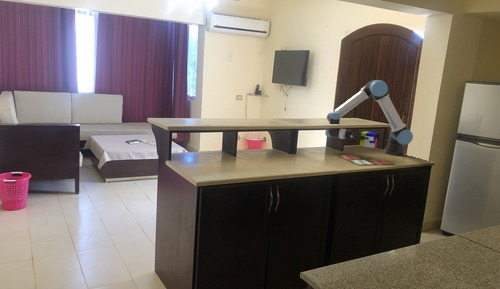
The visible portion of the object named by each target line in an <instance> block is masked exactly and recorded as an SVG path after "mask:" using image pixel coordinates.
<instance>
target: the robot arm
mask: <svg viewBox="0 0 500 289" xmlns="http://www.w3.org/2000/svg"><path fill="white" fill-rule="evenodd" d="M371 97H372V98H373V99H374V101H375V102H377V103H378V105H379V107H380V108H381V110H382V112H383V113H384V116H385V118H386V119H387V121H388V123H389V125H390V128H389V133H388V134H389V136H388V143H387V145H386V147H385V149H384V153H385V154H388V155H393V156H405V152H406V150H405V146H406V145H408V144H410V143H411V142H412V141H413V139H414V134H413V132H412V131H411V130H410V129H409V128H408V126H407V124H406V123H404V122H403V121H402V119H401V117H400V115H399V113H398V111H397V109H396V108H395V106H394V103H393V102H392V100H391V98H390V91H389V90H388V85H387V83H386V82H385V81H384V80H380V79H373V80H370V81H368V82H367V83H366V84H365V85H363V86H362V87H361V88H360V90H359V91H358V92H357V93H356V94H354V95H353V96H352V97H350V98H349V99H348V100H346V101H345V102H343V104H340V105H339V106H338V107H337V108H336V109H334V110H333V111H332V112H329V113H328V114H327V115H326V120H327V122H329V124H339V125H340V122H341V118H342V117H344V115H346V114H347V113H348V112H349V113H350V111H351V110H353V109H354V108H355V107H357V106H358V105H359V104H362V102H363V101H365V100H366V99H370V98H371ZM324 135H325V136H326V137H329V138H334V139H340V140H349V141H350V140H352V139H354V140H355V139H356V140H362V141H364V140H370V141H373V140H374V137H369V136H361V132H353V130H352V129H348V128H347V129H346V128H340V129H331V130H326V129H325V133H324ZM404 145H405V146H404Z"/></svg>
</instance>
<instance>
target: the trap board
mask: <svg viewBox="0 0 500 289" xmlns="http://www.w3.org/2000/svg"><path fill="white" fill-rule="evenodd" d="M336 156H337V157H338V158H341V159H343V160H346V161H348V162H350V163H352V164H354V163H355V164H354V165H358V166H395V164H394V163H392V162H390V161H386V160H384V159H363V158H361V157H359V156H356V155H354V154H353V155H352V154H350V155H349V154H348V155H343V154H342V155H340V154H338V155H336Z"/></svg>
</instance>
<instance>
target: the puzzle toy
mask: <svg viewBox="0 0 500 289" xmlns="http://www.w3.org/2000/svg"><path fill="white" fill-rule="evenodd" d="M360 133H361V136H369V137H374V140H373V141H370V140H364V141H362V140H360V139H359V140H360V141H359V147H365V148H371V149H375V148H377V147H378V145H379V140H380V139H379V138H380V133H379V132H373V131H367V130H366V131H361V132H360Z"/></svg>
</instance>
